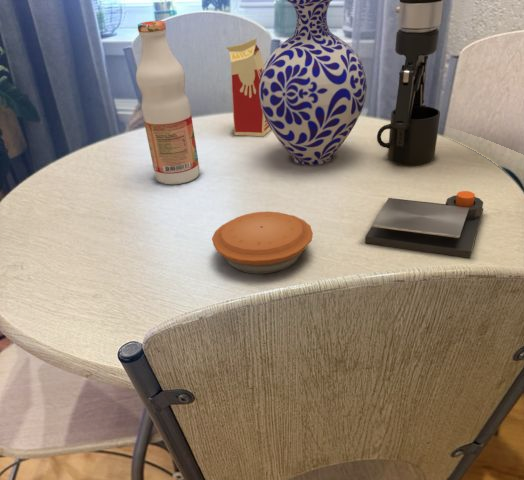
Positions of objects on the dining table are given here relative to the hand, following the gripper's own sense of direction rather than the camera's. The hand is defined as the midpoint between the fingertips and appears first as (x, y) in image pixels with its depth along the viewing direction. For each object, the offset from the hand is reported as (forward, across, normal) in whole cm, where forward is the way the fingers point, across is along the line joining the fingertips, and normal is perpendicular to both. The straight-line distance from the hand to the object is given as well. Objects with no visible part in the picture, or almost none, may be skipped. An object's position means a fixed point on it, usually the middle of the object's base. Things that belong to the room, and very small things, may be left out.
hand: (405, 151), depth 111 cm
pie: (+1, +46, -12) cm, 48 cm away
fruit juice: (+1, +21, -43) cm, 48 cm away
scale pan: (-2, +33, +10) cm, 34 cm away
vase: (+1, +4, -19) cm, 19 cm away
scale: (+1, +30, +10) cm, 32 cm away
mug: (+1, 0, 0) cm, 1 cm away
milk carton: (+2, -10, -40) cm, 41 cm away
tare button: (-2, +25, +15) cm, 30 cm away
